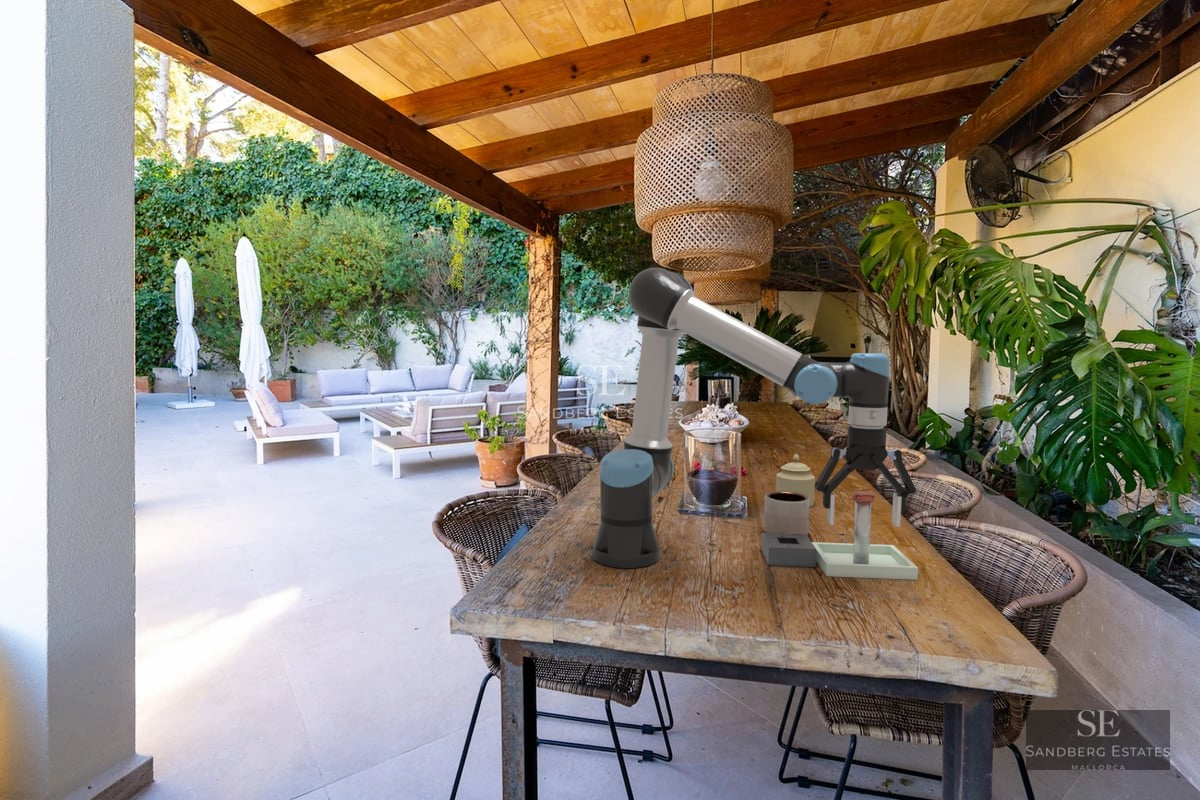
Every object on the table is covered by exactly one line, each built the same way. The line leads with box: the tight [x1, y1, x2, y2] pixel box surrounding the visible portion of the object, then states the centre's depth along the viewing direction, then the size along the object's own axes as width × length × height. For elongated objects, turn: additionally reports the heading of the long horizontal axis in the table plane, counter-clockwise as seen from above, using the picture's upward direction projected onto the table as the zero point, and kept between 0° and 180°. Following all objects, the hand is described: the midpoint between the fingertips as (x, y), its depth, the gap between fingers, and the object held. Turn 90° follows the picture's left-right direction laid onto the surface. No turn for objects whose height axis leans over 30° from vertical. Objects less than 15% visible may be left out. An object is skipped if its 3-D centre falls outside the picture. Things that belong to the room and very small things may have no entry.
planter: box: [763, 491, 810, 536], centre depth 155 cm, size 11×11×10 cm
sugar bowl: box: [775, 453, 816, 508], centre depth 185 cm, size 15×11×15 cm
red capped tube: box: [851, 491, 876, 564], centre depth 133 cm, size 4×4×15 cm
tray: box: [811, 541, 919, 581], centre depth 133 cm, size 18×14×2 cm
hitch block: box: [760, 532, 817, 568], centre depth 138 cm, size 10×10×4 cm
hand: (862, 524), depth 133 cm, fingers open, 13 cm apart
